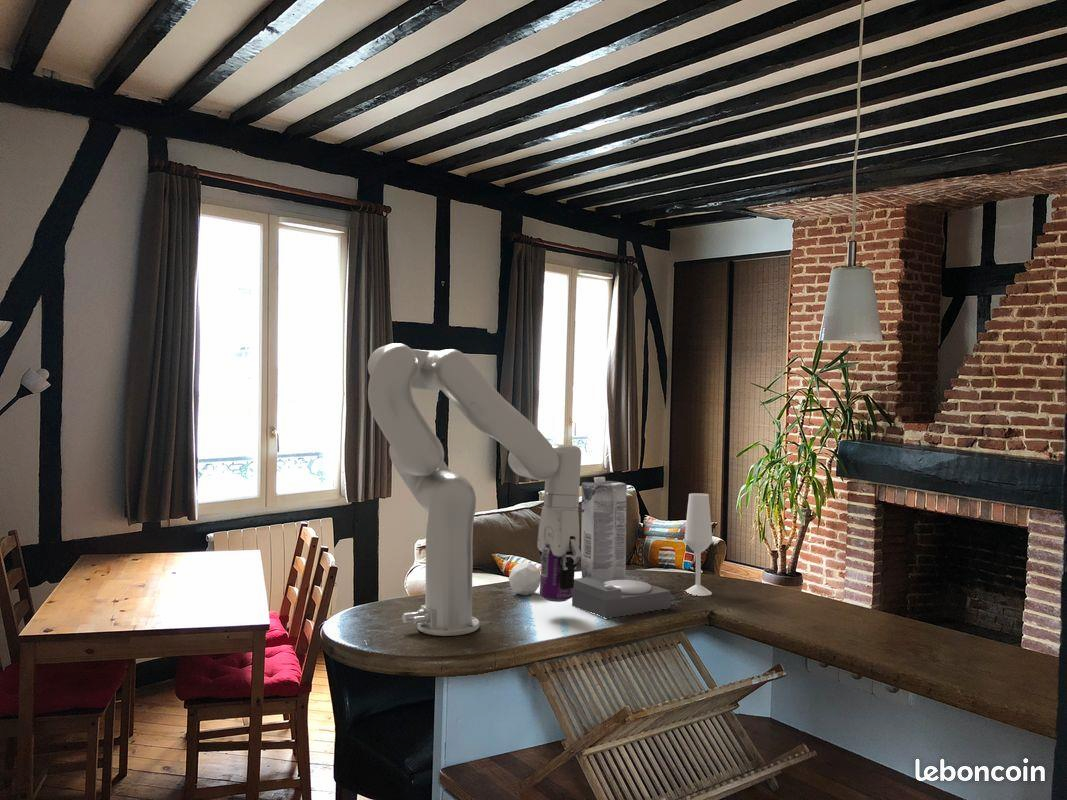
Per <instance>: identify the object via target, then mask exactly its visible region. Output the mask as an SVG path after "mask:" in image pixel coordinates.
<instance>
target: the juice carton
mask: <svg viewBox="0 0 1067 800" xmlns="http://www.w3.org/2000/svg"><path fill="white" fill-rule="evenodd" d="M593 480H594V482H593V481H591V482H589V481H586V482H585V481H584V482H582V483H581V539H580V540H581V544H580V545H581V549H580V551H581V553H582V557H581V559H580V560H581V561H580V564H581V565H580V567H581V578H586V577H587V578H590V579H593V580H596V581H599V582H602V583H604V582H607V581H611V580H626V568H627V565H626V563H627V493H628V492H627V487H628V484H627V483H624V482H620V481H613V480H606V477H605V476H597V477H595V476H594V477H593Z"/></svg>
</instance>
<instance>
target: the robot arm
mask: <svg viewBox="0 0 1067 800" xmlns="http://www.w3.org/2000/svg"><path fill="white" fill-rule="evenodd" d="M367 371H368V374H369V380H368V386H367V399H368V404H369V405H368V406H369V409H370V412H371V414H372V416H373V418H374V421H375V423H376V424H377V425H378V427H379V429H380V430H381V432H382V434H383V436H384V438H385V439H386V440H387V442H388V444H389V449H388V451H389V458H390V460H391V462H392V464H393V467H394V468H395V470H396V471H397V473H398V475H400V478H401V479H402V480H403V482H404V483H405V485H406V486H407V488H408V489H409V491H410V492H411V494H412V495H413V497H414V499H415V500H416V501H417V503H418V504H419V505H420V506H421V507H422V508H423V509H424V510H425V511H427V514H428V515H427V524H426V531H425V532H426V533H425V588H424V589H425V594H424V595H425V596H424V597H425V600H424V601H425V603H424V604H421V605H420V609H417V610H416V611H410V612H409V611H408V612H403V613H402V615H401V619H402V623H403V624H405V623H406V624H407V623H413V624H414V625H417V630H418V631H419V632H421V633H423V634H427V635H432V636H440V637H441V636H442V637H449V636H451V637H452V636H462V635H467V634H471V633H474V632H475V631H477V630H478V629H479V628H480V620H479V619H478V618H477V617H475V616H473V535H474V522H475V516H476V515H475V514H476V508H477V496H476V491H475V489H474V487H473V485H472V484H471V482H470V481H469V480H468V479H467V478H466V477H464V476H462V475H461V474H458V473H456V472H452V471H451V470H450V468H449V467H448V465H447V464H446V462H445V461H444V459H445V450H444V447H443V443H441V439H439V437H437V435H436V434H435V432H434V431H433V429H432V428H431V426H430V425H429V424H428V422H427V420H426V419H425V417H424V416H423V415H422V413H421V411H420V409H419V407H418V406H417V404H416V402H415V400H414V398H413V394H412V393H413V392H412V389H413V390H423V391H424V390H428V391H429V390H430V391H432V390H433V391H442V393H443V394H444V395H445V396H446V397H447V398H448V399H449V400H450V401H451V402H452V403H453V405H454V406H455V407H456V408H457V410H458V411H460V412H461V413H462V415H463V416H464V417H465V418H466V419H467V421H468V422H469V423H470V424H471V425H473V427H475V428H476V429H477V430H479V431H480V432H481V433H484V434H485V435H487V436H489V437H491V438H492V439H494V440H496V441H497V442H498V443H499V444H501V445H502V446H503V447H504V448H505V449H507V451H508V452H509V453H508V455H507V456H508V457H507V462H508V465H509V468H510V469H511V470H512V472H513V473H515V474H516V475H518V476H519V477H524V478H528V479H531V480H537V481H544V493H543V494H544V495H543V506H542V509H541V513H540V517H539V524H538V532H537V533H538V534H537V542H536V544H537V550H539V554H540V562H541V561H542V550H543V548H544V547H545V546H546V545H545V543H546V544H549V545H551V547H550V546H549V547H550V549H551V551H552V553H553V555H554V556H556V557H561V562H562V567H563V569H562V570H561V573H560V588H561V589H569V588H573V587H574V579H575V570H577V565H579V562H580V560H581V557H582V553H581V549H580V516H579V515H580V514H579V507H580V506H579V505H580V504H579V503H580V485H581V467H582V463H581V462H582V451H581V449H580V447H579V446H577V445H572V444H558V443H557V444H556V443H555V444H551V442H550V441H549V440H548V439H547V438H546V437H545V436H544V435H543V433H541V431H540V430H539V429H538V427H536V426H535V425H534V423H532V422H531V421H530V420H529V419H528V418H527V417H526V416H525V415H523V414H522V413H521V412H520V411H519V410H517V409H516V408H515V406H513V405H512V404H511V403H510V402H508V401H507V400H506V399H505V398H504V397H503V396H502V394H500V393H499V392H498V390H497V389H496V388H495V387H494V386H493V384H492V383H490V381H489V380H488V379H487V378H486V377H485V376H484V374H483V373H482V372H481V371H480V369H478V367H477V366H476V365H475V364H474V362H473V361H472V360H470V358H469V357H468V356H467V355H465V354H464V352H462V351H460V350H458V349H454V348H449V349H442V350H427V349H426V350H425V349H422V350H421V349H415V348H411V347H409V345H406V344H404V343H397V342H395V343H389V344H386V345H383V346H380V347H378V348H376V349H375V350H374V351H373V352H372V353H371V354H370V355H369V359H368V362H367ZM566 552H571V554H568V555H565V554H566ZM566 558H570V559H569V561H568V562H567V561H566Z"/></svg>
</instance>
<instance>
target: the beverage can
mask: <svg viewBox="0 0 1067 800" xmlns="http://www.w3.org/2000/svg"><path fill="white" fill-rule="evenodd" d="M545 545H546V546H545V547H544V548H543V550H542V561H541V560H540V575H541V579H540V585H539V597H541V598H543V599H544V600H545V601H548V602H555V603H556V602H557V603H562V602H566V601H568V600H570V599H572V595H573V588H569V589H561V588H560V573H561V570H562V569H563V567H562V562H561V557H556V556H554V555H553V553H552V551H551V549H550V547H551V545H549V544H546V543H545ZM549 546H550V547H549ZM568 554H571V552H566V554H565V555H568ZM569 559H570V558H566V561H567V562H568V561H569Z"/></svg>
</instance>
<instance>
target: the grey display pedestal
mask: <svg viewBox="0 0 1067 800" xmlns="http://www.w3.org/2000/svg"><path fill="white" fill-rule="evenodd" d="M671 594H672V590H669V589H665V588H662V587H660V586H656V585H653V584H650V583H649V582H648V583H647V582H645V581H642V580H641V581H640V580H638V579H625V580H611V581H607V582H604V583H602V582H599V581H596V580H593V579H590V578H587V577H586V578H582V577H581V578H580V577H579V578H574V587H573V595H572V598H571V606H572V607H574V606H575V608H577V607H578V608H577V609H579V608H580V610H582V609H583V610H582V611H584V610H586V611H585V612H587V611H589V612H592V613H595V614H598V615H600V616H602V617H605V618H610V617H617V618H619V617H618V616H623V617H627V616H626V615H629V616H633V615H632V614H635V615H638V614H637V613H641V612H646V611H651V610H659V609H664V608H670V607H671V604H672V603H671V600H672V595H671ZM659 611H660V610H659ZM589 612H588V613H589ZM592 613H591V614H592ZM641 614H642V613H641Z"/></svg>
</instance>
